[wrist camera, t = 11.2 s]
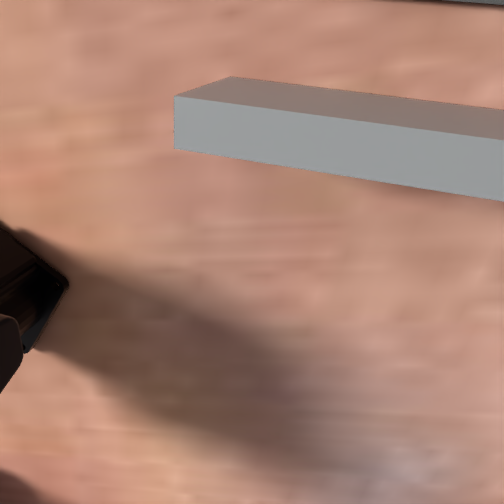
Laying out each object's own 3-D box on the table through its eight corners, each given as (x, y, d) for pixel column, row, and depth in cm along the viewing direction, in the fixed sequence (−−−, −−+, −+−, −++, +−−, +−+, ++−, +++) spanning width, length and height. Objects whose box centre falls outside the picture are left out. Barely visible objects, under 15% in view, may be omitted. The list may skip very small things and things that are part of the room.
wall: (816, 148, 14) (1006, 208, 9) (785, 196, 14) (949, 273, 10) (230, 76, 17) (174, 95, 13) (228, 117, 18) (174, 148, 14)
